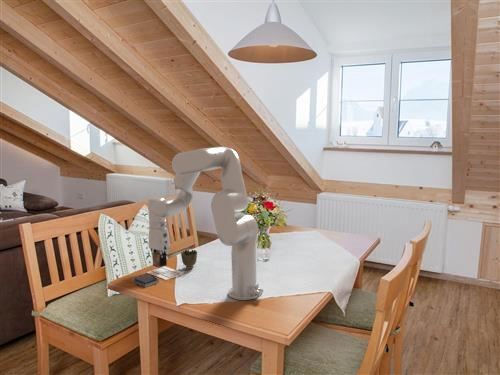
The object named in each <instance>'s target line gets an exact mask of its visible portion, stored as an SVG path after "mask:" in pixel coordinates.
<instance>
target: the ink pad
mask: <svg viewBox="0 0 500 375" xmlns="http://www.w3.org/2000/svg"><path fill="white" fill-rule="evenodd" d="M132 283H133V284H136V285H138V286H140V287H143V288H148V287H151V286H153V285H155V284H158V283H160V279H158V277H156V276H153V275H150V274H148V273H147V274H142V275H139V276H137V277H134V278H133V279H132Z"/></svg>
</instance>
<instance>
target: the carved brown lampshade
mask: <svg viewBox="0 0 500 375" xmlns="http://www.w3.org/2000/svg"><path fill="white" fill-rule="evenodd" d="M180 256H181V261H182V264H183V265H184V266H185V269H186V270H192V269H194V266H195V265H196V263H197V259H198V251H197V250H196V249H191V251H190V250H189V249H185V250H182V251H180Z"/></svg>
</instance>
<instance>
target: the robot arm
mask: <svg viewBox="0 0 500 375" xmlns="http://www.w3.org/2000/svg"><path fill="white" fill-rule="evenodd" d="M171 161H172V162H171V167H172V170H173V171H174V173H175V175H174V177H173V184H174V185H175V186H176V188H178V189H179V192H178V194H177V195H176V196H175V197H171V198H166V199H165V198H164V197H161V196H154V197H150V198H149V199H148V200H147V205H148V206H147V208H148V209H147V211H148V226H149V228H148V248H149V249H150V251H151V254H152V253H154V252H156V250H158V251H160V256H161V257H160V266H163V265H166V264H168V263H167V262H166V259H167V257H168V254H169V253H171V250H170V249H171V240H170V233H169V229H168V228H167V218H169V217H172V216H176V215H179V214H183V213H184V212H185V211H187V209H188V208H189V206H190V204H191V203H192V200H193V198H194V189H193V186H194V185H195V183H196V182H197V179H198V177H199V176H200V174H201V172H207V171H212V170H217V169H221V172H220V183H221V186H222V190H220V191H218V192H216V193H215V194H213V196H212V199H211V203H210V208H211V213H212V218H213V221H214V226H215V231H216V234H217V237H218V239H219V241H220V242H221V243H222V244H223V245H225V246H227V247H231V284H232V286H231V288H230V289H229V290H228V293H227V294H228V296H229V297H230V298H232V299H235V300H236V301H237V300H238V301H251V300H253V299H257V298H259V297H262V295H263V293H264V289H263V288H259V287H260V286H259V283H257V239H258V233H259V225H258V222H257V220H256V218H255V217H254V216H253V215H250V214H241V215H237V216H236V214H237V213H241V212H243V211H245V210H246V209H247V208H248V206H249V199H248V192H247V189H246V188H247V187H246V185H245V180H244V177H243V176H244V175H243V172H242V171H243V170H242V165H241V160H240V157H239V155H238V153H237V152H236V151H235V150H234V149H233V148H230V147H227V146H214V147H213V146H212V147H206V148H205V147H204V148H197V149H193V150H189V151H184V152H183V151H182V152H178V153H177V154H175V155H174V157H173V158H172V160H171ZM162 252H164V253H162ZM166 266H167V265H166ZM163 267H164V266H163Z"/></svg>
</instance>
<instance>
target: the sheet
mask: <svg viewBox="0 0 500 375" xmlns="http://www.w3.org/2000/svg"><path fill="white" fill-rule="evenodd" d="M146 273H147V275H150V276H153V277H155V278H159V279H163V280H164V281H168V280H170V279H173V278H176V277H178V276H181V275H184V274H185V273H184V272H183V271H180V270H176V269H173V268H171V267H169V266H163V267H160V268H158V267H157V268H156V269H155V268H154V269H152V270H150V271H147V272H146Z"/></svg>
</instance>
